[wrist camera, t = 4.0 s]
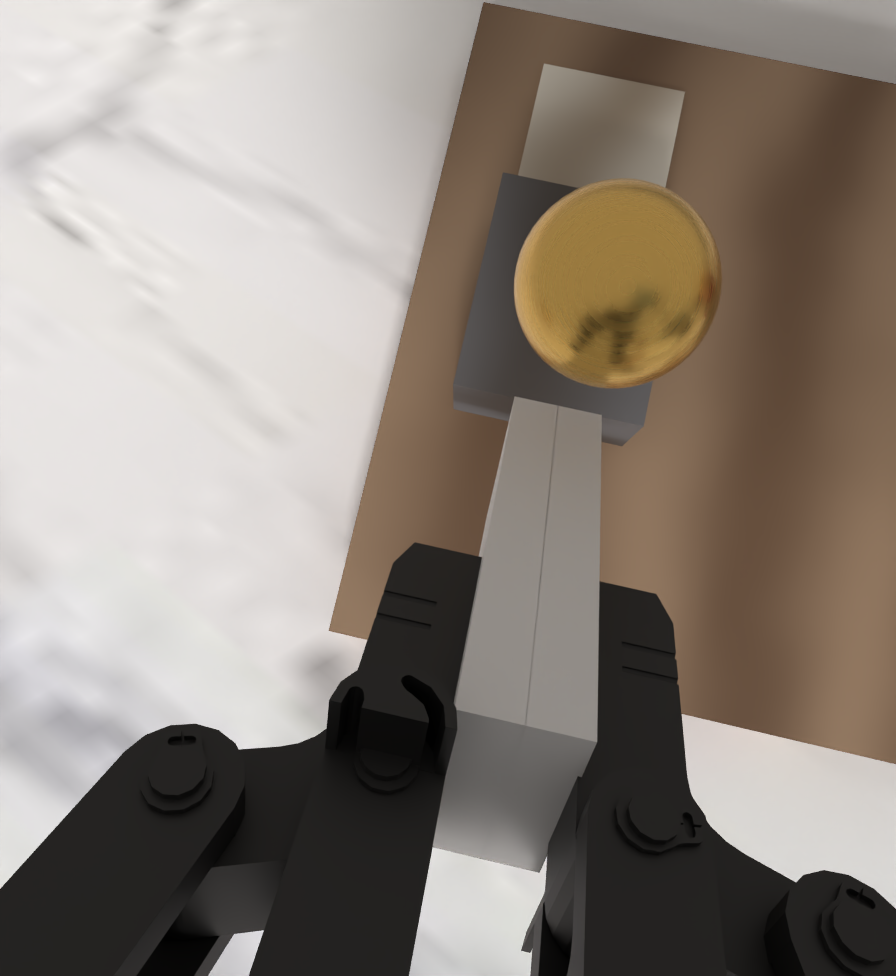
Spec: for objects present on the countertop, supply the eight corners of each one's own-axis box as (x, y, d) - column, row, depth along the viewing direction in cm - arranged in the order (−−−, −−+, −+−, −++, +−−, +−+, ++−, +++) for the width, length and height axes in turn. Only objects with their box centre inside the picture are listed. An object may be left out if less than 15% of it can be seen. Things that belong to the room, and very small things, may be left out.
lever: (644, 246, 19) (777, 188, 9) (615, 358, 20) (708, 421, 10) (533, 222, 20) (541, 140, 9) (507, 335, 20) (489, 374, 10)
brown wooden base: (1140, 199, 27) (1321, 93, 21) (1070, 797, 24) (1256, 857, 19) (480, 65, 28) (486, -70, 22) (343, 626, 25) (311, 635, 20)
